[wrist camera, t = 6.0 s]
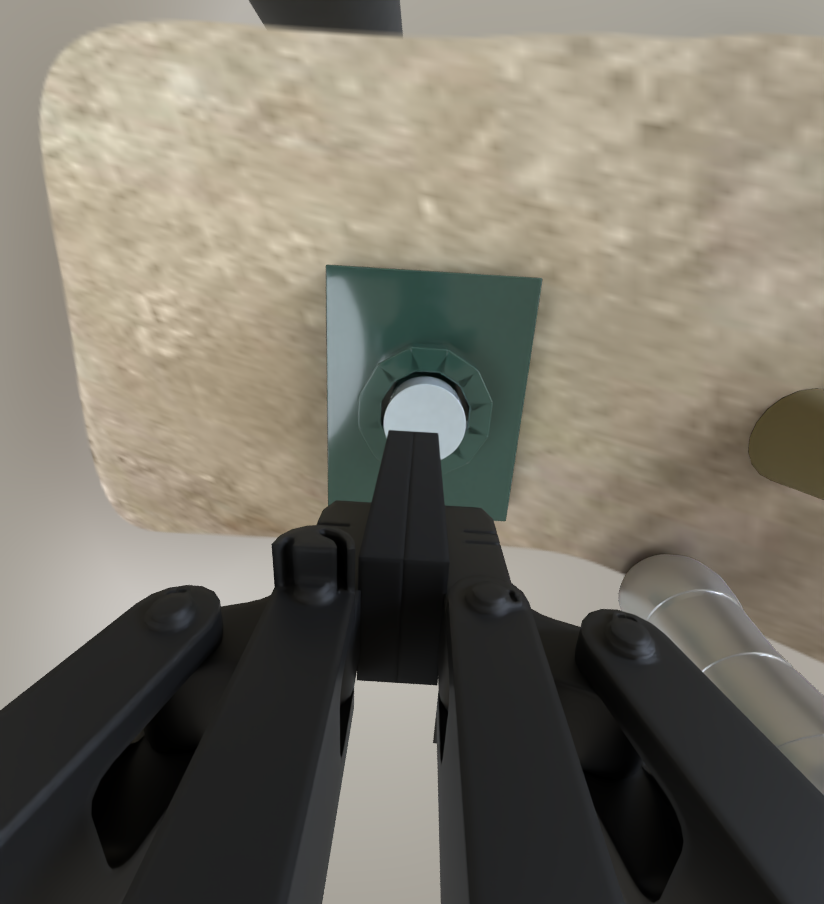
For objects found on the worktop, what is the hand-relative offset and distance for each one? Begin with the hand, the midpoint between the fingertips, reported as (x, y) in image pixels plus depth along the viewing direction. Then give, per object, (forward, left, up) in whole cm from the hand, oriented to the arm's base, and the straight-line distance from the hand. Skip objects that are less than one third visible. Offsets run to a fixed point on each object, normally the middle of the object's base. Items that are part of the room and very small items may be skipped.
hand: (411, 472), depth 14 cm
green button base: (+1, +1, -14) cm, 14 cm away
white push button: (+1, +1, -10) cm, 10 cm away
